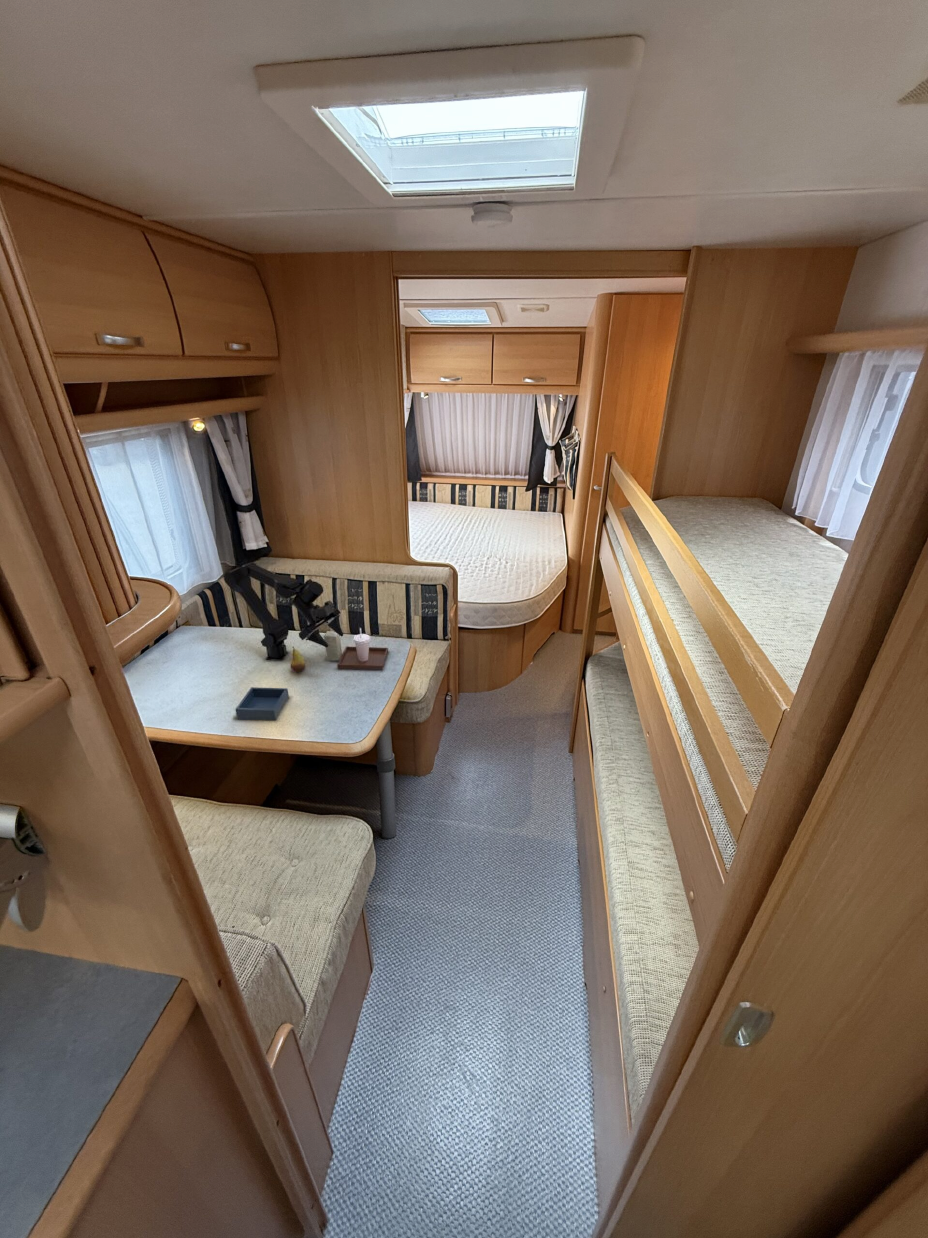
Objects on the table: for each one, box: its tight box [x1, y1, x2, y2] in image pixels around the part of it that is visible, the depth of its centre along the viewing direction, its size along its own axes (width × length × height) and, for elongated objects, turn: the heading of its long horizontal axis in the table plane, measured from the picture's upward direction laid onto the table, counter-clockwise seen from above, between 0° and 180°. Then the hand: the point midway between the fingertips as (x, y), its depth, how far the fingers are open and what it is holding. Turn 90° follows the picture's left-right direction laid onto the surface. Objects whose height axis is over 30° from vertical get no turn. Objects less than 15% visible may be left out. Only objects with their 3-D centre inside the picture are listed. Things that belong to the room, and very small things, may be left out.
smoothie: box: [353, 627, 371, 661], centre depth 192 cm, size 6×6×14 cm
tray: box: [337, 646, 389, 671], centre depth 195 cm, size 17×14×2 cm
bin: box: [234, 686, 290, 721], centre depth 165 cm, size 13×13×4 cm
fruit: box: [290, 646, 306, 673], centre depth 185 cm, size 6×6×12 cm
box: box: [323, 630, 343, 662], centre depth 194 cm, size 5×4×11 cm
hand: (335, 641), depth 181 cm, fingers open, 9 cm apart
